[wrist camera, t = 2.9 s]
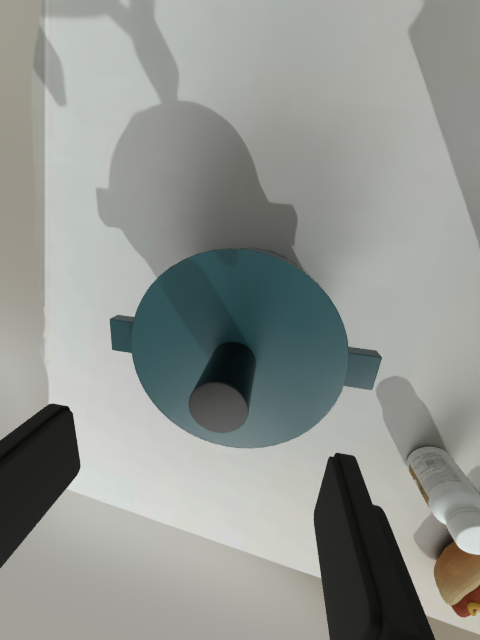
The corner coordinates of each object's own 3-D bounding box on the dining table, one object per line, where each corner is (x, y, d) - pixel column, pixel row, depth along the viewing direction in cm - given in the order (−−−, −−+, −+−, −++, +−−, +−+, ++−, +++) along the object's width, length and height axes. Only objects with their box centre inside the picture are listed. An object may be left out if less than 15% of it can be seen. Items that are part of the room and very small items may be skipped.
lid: (135, 236, 15) (60, 238, 10) (369, 261, 14) (425, 277, 9) (142, 419, 20) (94, 486, 15) (320, 451, 18) (337, 538, 13)
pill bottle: (396, 464, 28) (437, 543, 21) (423, 438, 27) (477, 514, 20) (430, 482, 29) (482, 566, 21) (459, 457, 27) (526, 539, 20)
